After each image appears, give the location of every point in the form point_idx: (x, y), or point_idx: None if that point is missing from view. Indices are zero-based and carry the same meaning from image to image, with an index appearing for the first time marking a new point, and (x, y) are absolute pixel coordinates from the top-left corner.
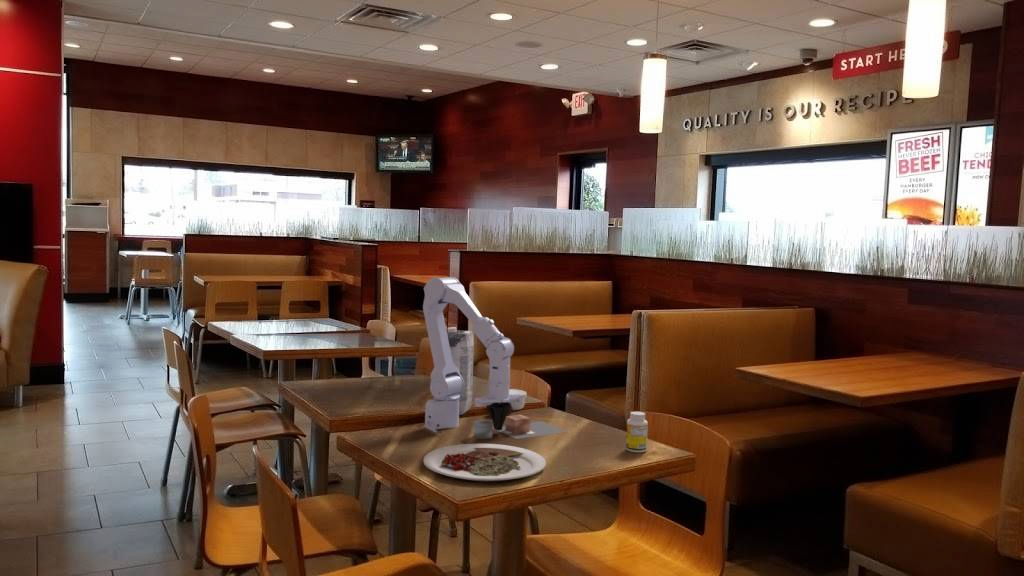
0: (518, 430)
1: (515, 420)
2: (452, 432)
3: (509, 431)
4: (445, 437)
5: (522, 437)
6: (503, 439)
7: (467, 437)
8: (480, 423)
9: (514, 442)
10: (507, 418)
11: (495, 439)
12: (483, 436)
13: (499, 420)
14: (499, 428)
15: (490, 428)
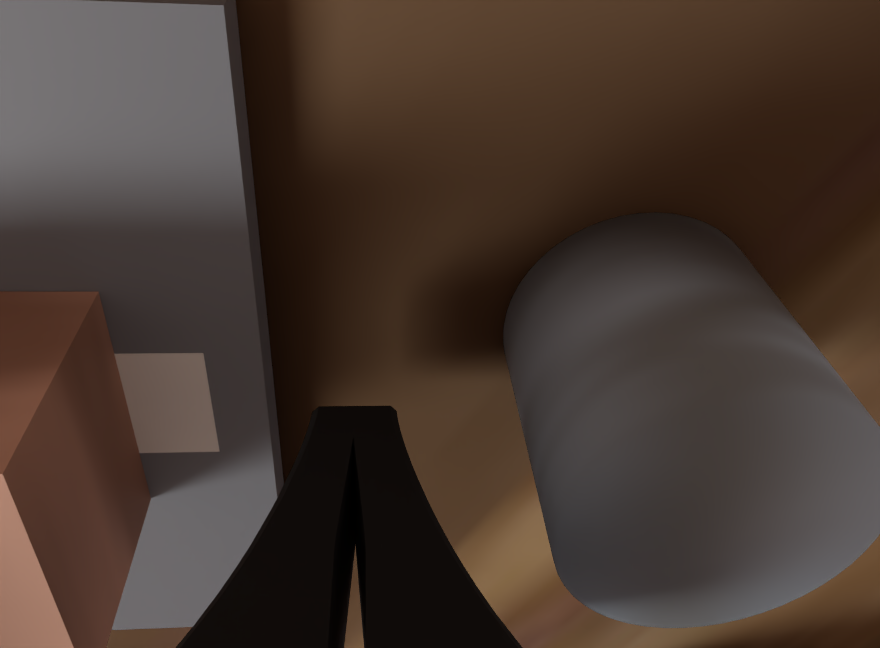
0: (3, 323)
1: (4, 465)
2: (670, 641)
3: (131, 422)
4: None
5: (44, 36)
6: (339, 251)
7: None
8: (820, 503)
9: (259, 12)
10: (88, 636)
11: (449, 297)
12: (758, 279)
13: (393, 523)
14: (367, 422)
15: (677, 350)
